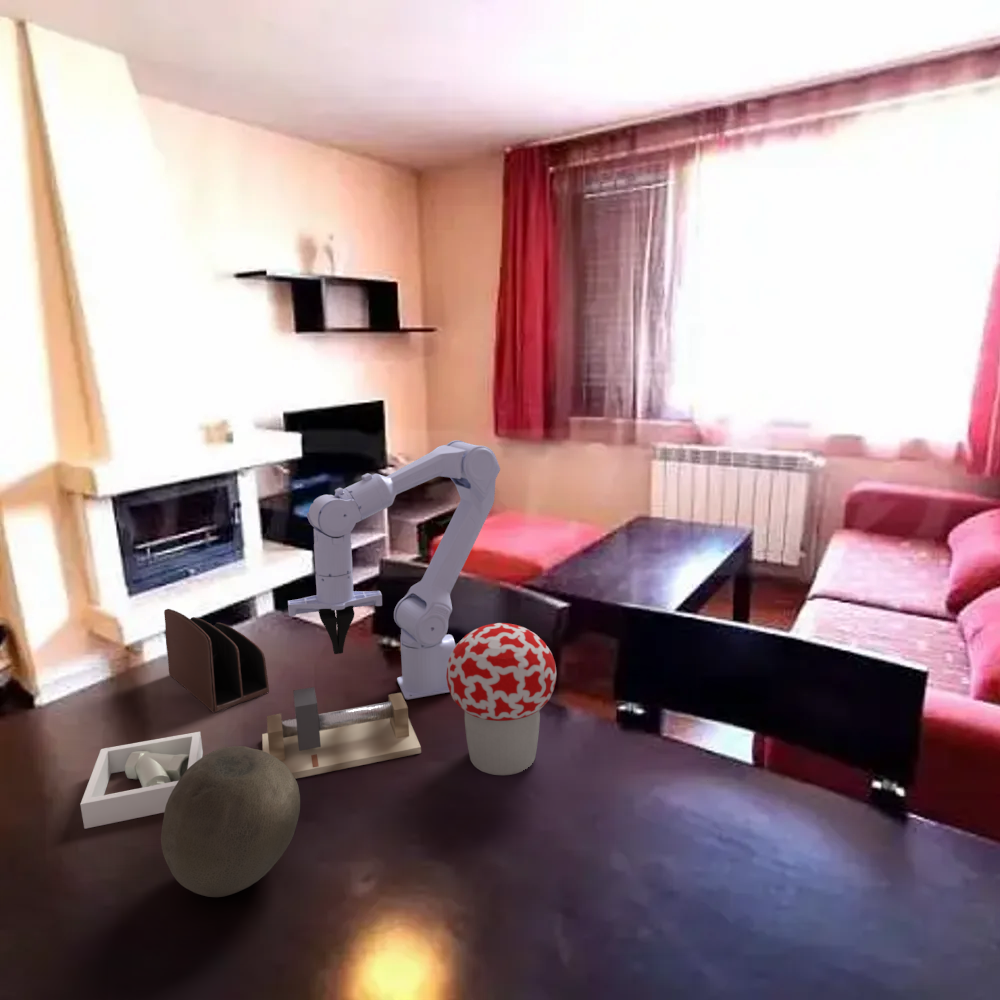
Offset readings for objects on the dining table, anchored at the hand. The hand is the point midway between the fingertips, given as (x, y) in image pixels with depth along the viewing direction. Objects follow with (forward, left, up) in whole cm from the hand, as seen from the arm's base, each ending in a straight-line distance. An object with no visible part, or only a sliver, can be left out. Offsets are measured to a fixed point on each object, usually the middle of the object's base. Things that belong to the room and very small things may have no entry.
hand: (338, 651), depth 113 cm
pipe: (+2, +11, -7) cm, 13 cm away
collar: (+6, +11, -8) cm, 15 cm away
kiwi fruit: (+16, +34, -11) cm, 39 cm away
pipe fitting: (+27, +11, -11) cm, 31 cm away
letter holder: (+20, -18, -11) cm, 29 cm away
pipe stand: (+2, +11, -10) cm, 15 cm away
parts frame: (+28, +12, -10) cm, 32 cm away
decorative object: (-20, +22, -11) cm, 32 cm away
